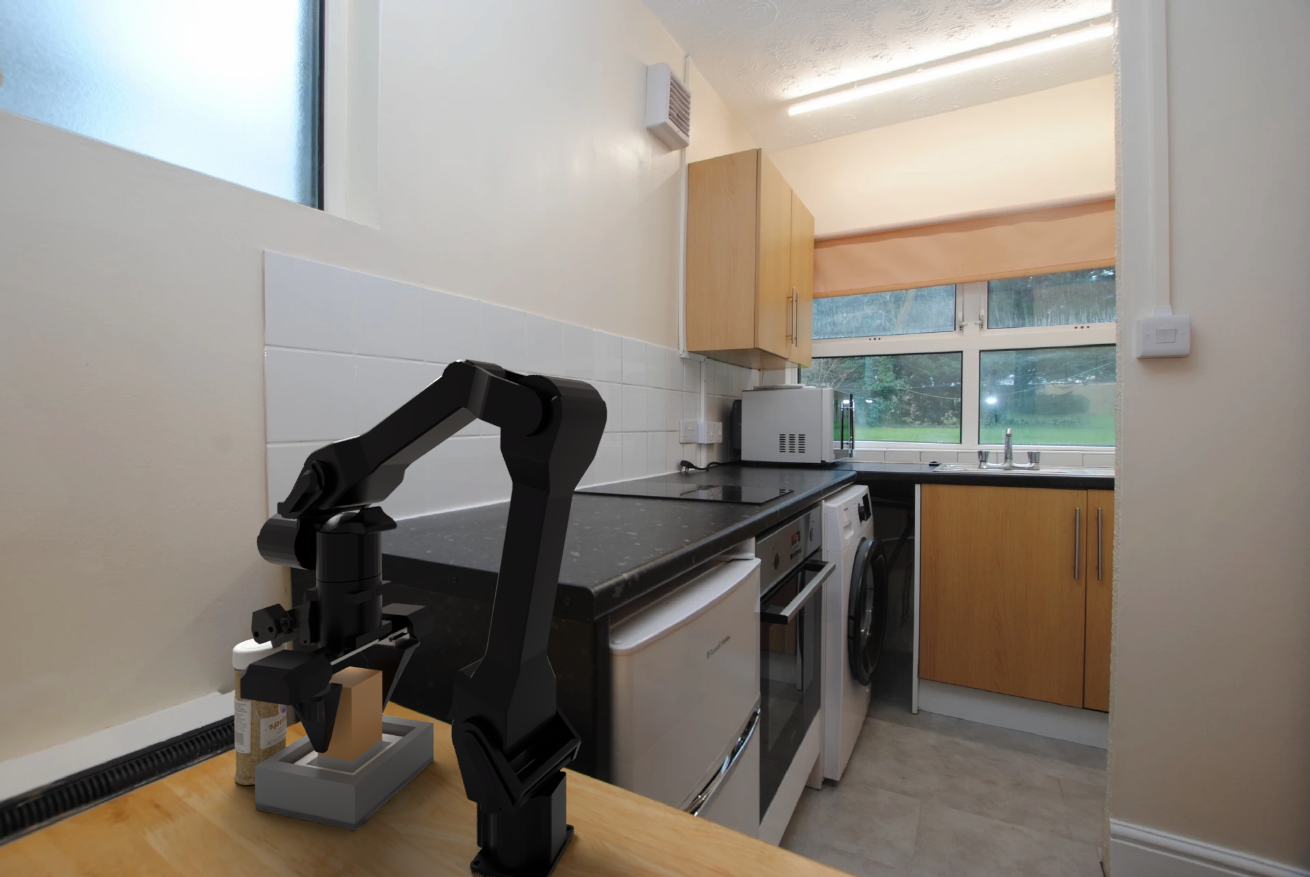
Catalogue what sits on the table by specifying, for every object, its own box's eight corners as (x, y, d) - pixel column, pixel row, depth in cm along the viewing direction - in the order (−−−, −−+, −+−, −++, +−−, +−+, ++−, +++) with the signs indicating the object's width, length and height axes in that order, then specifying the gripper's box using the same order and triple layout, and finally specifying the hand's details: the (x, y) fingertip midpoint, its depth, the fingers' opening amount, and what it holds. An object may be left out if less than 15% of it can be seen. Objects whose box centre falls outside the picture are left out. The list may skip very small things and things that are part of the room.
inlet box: (433, 760, 61) (433, 723, 61) (354, 830, 50) (354, 785, 50) (347, 745, 63) (347, 709, 63) (255, 809, 53) (255, 766, 53)
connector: (382, 768, 58) (382, 670, 58) (352, 792, 54) (351, 688, 54) (349, 762, 59) (349, 666, 59) (317, 785, 55) (317, 683, 55)
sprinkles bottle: (288, 777, 58) (287, 644, 57) (231, 793, 55) (230, 654, 55) (287, 755, 61) (286, 631, 61) (234, 769, 59) (233, 639, 59)
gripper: (353, 551, 67) (354, 682, 68) (188, 595, 49) (190, 774, 50) (435, 556, 65) (436, 693, 65) (293, 606, 47) (295, 795, 47)
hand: (350, 732), depth 57 cm, fingers open, 7 cm apart
